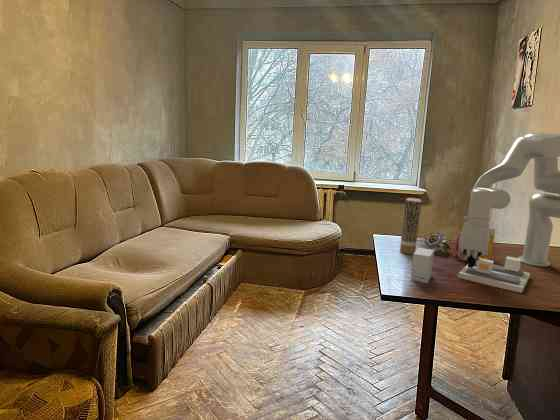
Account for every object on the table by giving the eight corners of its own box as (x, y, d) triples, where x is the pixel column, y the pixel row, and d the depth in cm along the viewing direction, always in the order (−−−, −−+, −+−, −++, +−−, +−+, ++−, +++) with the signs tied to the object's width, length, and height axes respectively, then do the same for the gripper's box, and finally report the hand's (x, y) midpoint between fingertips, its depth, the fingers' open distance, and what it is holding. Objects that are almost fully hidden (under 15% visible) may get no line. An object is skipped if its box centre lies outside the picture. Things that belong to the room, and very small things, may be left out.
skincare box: (414, 272, 167) (417, 246, 165) (431, 275, 164) (435, 249, 162) (409, 279, 158) (412, 253, 156) (427, 283, 155) (431, 256, 153)
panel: (470, 264, 181) (471, 258, 181) (529, 277, 169) (530, 270, 168) (458, 277, 164) (459, 270, 163) (521, 293, 151) (523, 285, 151)
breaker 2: (505, 266, 171) (507, 256, 170) (519, 269, 168) (521, 259, 167) (504, 268, 167) (505, 258, 167) (518, 272, 165) (520, 261, 164)
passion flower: (428, 262, 200) (416, 240, 202) (440, 254, 206) (428, 233, 208) (447, 255, 191) (434, 231, 193) (459, 247, 197) (446, 225, 199)
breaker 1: (478, 268, 166) (479, 258, 165) (492, 271, 163) (493, 261, 162) (475, 271, 162) (477, 260, 161) (489, 274, 159) (491, 263, 158)
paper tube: (417, 253, 195) (424, 200, 190) (410, 255, 190) (417, 201, 185) (403, 249, 199) (410, 197, 194) (397, 252, 194) (403, 198, 189)
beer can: (476, 259, 190) (481, 227, 188) (475, 255, 196) (480, 224, 193) (490, 261, 188) (496, 229, 185) (489, 258, 194) (494, 226, 191)
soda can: (472, 262, 186) (476, 235, 183) (455, 260, 187) (459, 234, 185) (469, 257, 193) (472, 232, 190) (452, 255, 194) (456, 230, 192)
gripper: (454, 219, 163) (448, 264, 167) (497, 226, 154) (489, 273, 158) (459, 216, 169) (453, 260, 173) (500, 223, 160) (493, 269, 164)
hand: (470, 266), depth 165 cm, fingers closed
